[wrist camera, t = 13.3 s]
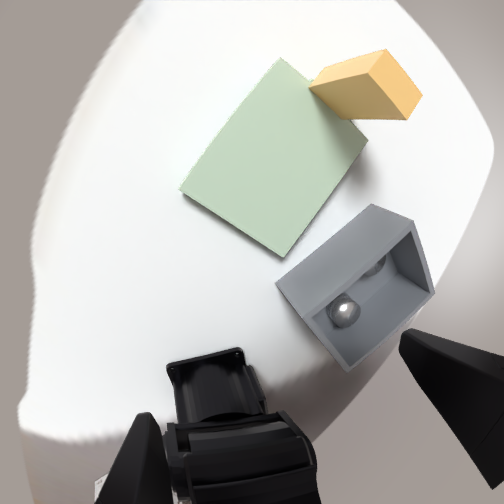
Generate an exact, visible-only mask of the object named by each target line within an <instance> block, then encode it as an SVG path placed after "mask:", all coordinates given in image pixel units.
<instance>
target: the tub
mask: <svg viewBox="0 0 504 504" xmlns="http://www.w3.org/2000/svg"><path fill="white" fill-rule="evenodd" d="M385 254H386V261H385V264H384V266H383V268H382V269H381V271H380V272H379V273H377V274H376V275H373V276H367V275H366V274H364V273H365V272H366V271H368V270H369V269H370V268H371V267H372V266H373V265H374V264H375V263H377V262H378V261H379V260H380V259H381V258H382V257H383V256H384V255H385ZM275 284H276V285H277V286H278V288H279V289H280V290H281V292H282V293H283V294H284V296H285V297H286V298H287V300H288V301H289V302H290V303H291V305H292V306H293V307H294V309H295V310H296V311H297V313H298V314H299V315H300V317H301V318H302V319H303V320H304V322H305V323H306V324H307V325H308V327H309V328H310V329H311V330H312V331H313V333H314V334H315V335H316V336H317V338H318V339H319V340H320V341H321V343H322V344H323V345H324V346H325V347H326V349H327V350H328V351H329V352H330V354H331V355H332V356H333V357H334V358H335V360H336V361H337V362H338V363H339V365H340V366H341V367H342V368H343V369H344V371H345V372H346V373H348V372H350V371H351V370H352V369H353V368H355V367H356V366H357V365H358V364H359V363H361V362H362V361H363V360H364V359H366V358H367V357H368V356H369V355H370V354H371V353H373V352H374V351H375V350H376V349H377V348H378V347H380V346H381V345H382V344H383V343H384V342H385V341H386V340H388V339H389V338H390V337H391V336H392V335H393V334H394V333H395V332H396V331H397V330H399V329H400V328H401V327H402V326H403V325H404V324H405V323H406V322H407V321H408V320H409V319H410V318H411V317H412V316H413V315H414V314H415V313H416V312H417V311H418V310H419V309H420V308H421V307H422V306H423V305H424V304H425V303H426V302H427V301H428V300H429V299H430V298H431V297H432V296H433V295H434V294H435V291H434V287H433V283H432V279H431V275H430V272H429V268H428V265H427V261H426V258H425V255H424V251H423V248H422V245H421V242H420V239H419V236H418V233H417V230H416V227H415V224H414V221H413V220H411V219H408V218H406V217H404V216H401V215H399V214H396V213H394V212H391V211H389V210H386V209H384V208H381V207H379V206H376V205H374V204H370V205H369V206H368V207H367V208H366V209H364V210H363V211H362V212H361V213H360V214H359V215H357V216H356V217H355V218H354V219H353V220H352V221H350V222H349V223H348V224H347V225H346V226H344V227H343V228H342V229H341V230H340V231H338V232H337V233H336V234H335V235H334V236H332V237H331V238H330V239H329V240H328V241H326V242H325V243H324V244H323V245H322V246H320V247H319V248H318V249H317V250H315V251H314V252H313V253H312V254H311V255H309V256H308V257H307V258H306V259H304V260H303V261H302V262H301V263H299V264H298V265H297V266H296V267H294V268H293V269H292V270H291V271H290V272H288V273H287V274H286V275H285V276H283V277H282V278H281V279H279V280H278V281H277V282H276V283H275ZM341 293H346V294H347V295H349V296H350V297H351V298H352V299H353V300H354V301H355V302H356V303H357V304H358V305H359V306H360V308H361V313H360V316H359V318H358V320H357V321H356V322H355V323H354V324H353V325H351V326H350V327H347V328H340V327H339V326H337V324H336V323H335V322H334V321H333V320H332V319H331V318H330V317H329V315H328V314H327V313H326V306H327V305H328V304H329V303H330V302H331V301H333V300H334V299H335V298H336V297H337V296H339V295H340V294H341Z"/></svg>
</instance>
